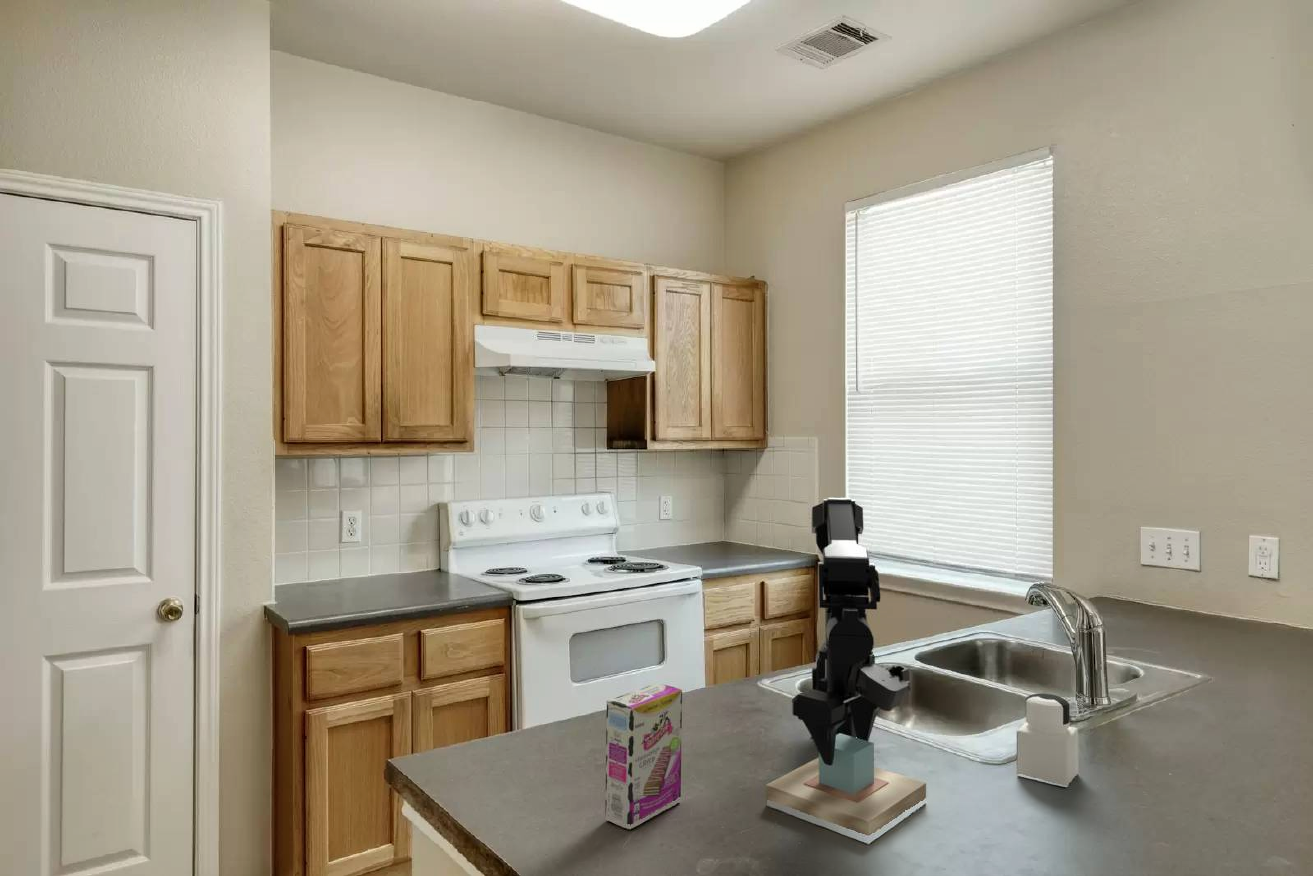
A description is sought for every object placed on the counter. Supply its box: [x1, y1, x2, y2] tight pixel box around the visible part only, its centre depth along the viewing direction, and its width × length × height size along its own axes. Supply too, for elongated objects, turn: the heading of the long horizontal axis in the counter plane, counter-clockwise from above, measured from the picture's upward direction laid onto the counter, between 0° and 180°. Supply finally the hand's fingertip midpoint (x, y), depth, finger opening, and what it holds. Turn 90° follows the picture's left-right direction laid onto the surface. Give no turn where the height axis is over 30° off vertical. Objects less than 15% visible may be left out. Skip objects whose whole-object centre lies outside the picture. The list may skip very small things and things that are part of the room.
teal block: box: [818, 733, 875, 794], centre depth 115 cm, size 6×6×6 cm
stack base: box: [765, 756, 927, 836], centre depth 115 cm, size 16×16×3 cm
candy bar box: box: [604, 682, 683, 825], centre depth 113 cm, size 11×5×16 cm, turn 141°
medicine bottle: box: [1016, 692, 1079, 786], centre depth 125 cm, size 7×7×12 cm
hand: (846, 755), depth 115 cm, fingers open, 9 cm apart
